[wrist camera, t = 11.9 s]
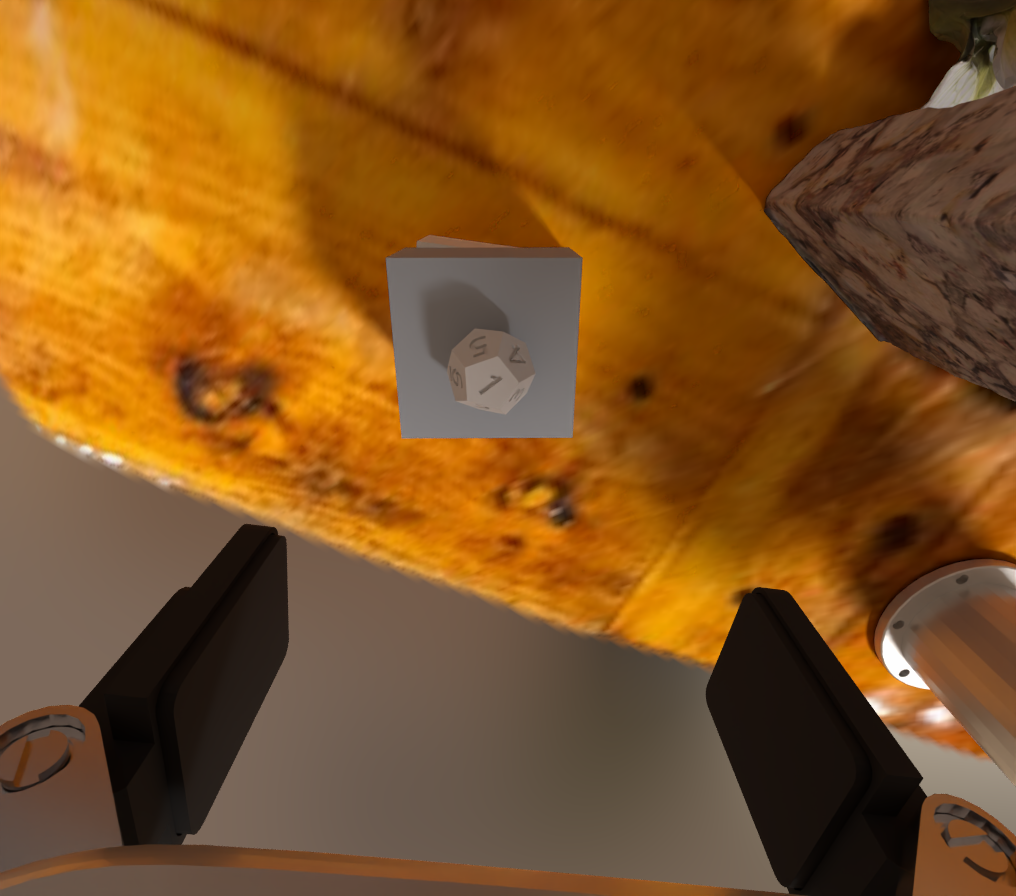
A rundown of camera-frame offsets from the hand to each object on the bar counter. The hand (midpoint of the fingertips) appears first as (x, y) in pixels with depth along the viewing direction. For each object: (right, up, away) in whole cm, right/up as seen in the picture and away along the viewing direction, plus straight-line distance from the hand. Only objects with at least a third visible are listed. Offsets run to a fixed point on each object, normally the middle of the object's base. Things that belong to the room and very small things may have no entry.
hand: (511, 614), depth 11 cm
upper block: (-1, +10, +17) cm, 20 cm away
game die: (-1, +7, +13) cm, 15 cm away
